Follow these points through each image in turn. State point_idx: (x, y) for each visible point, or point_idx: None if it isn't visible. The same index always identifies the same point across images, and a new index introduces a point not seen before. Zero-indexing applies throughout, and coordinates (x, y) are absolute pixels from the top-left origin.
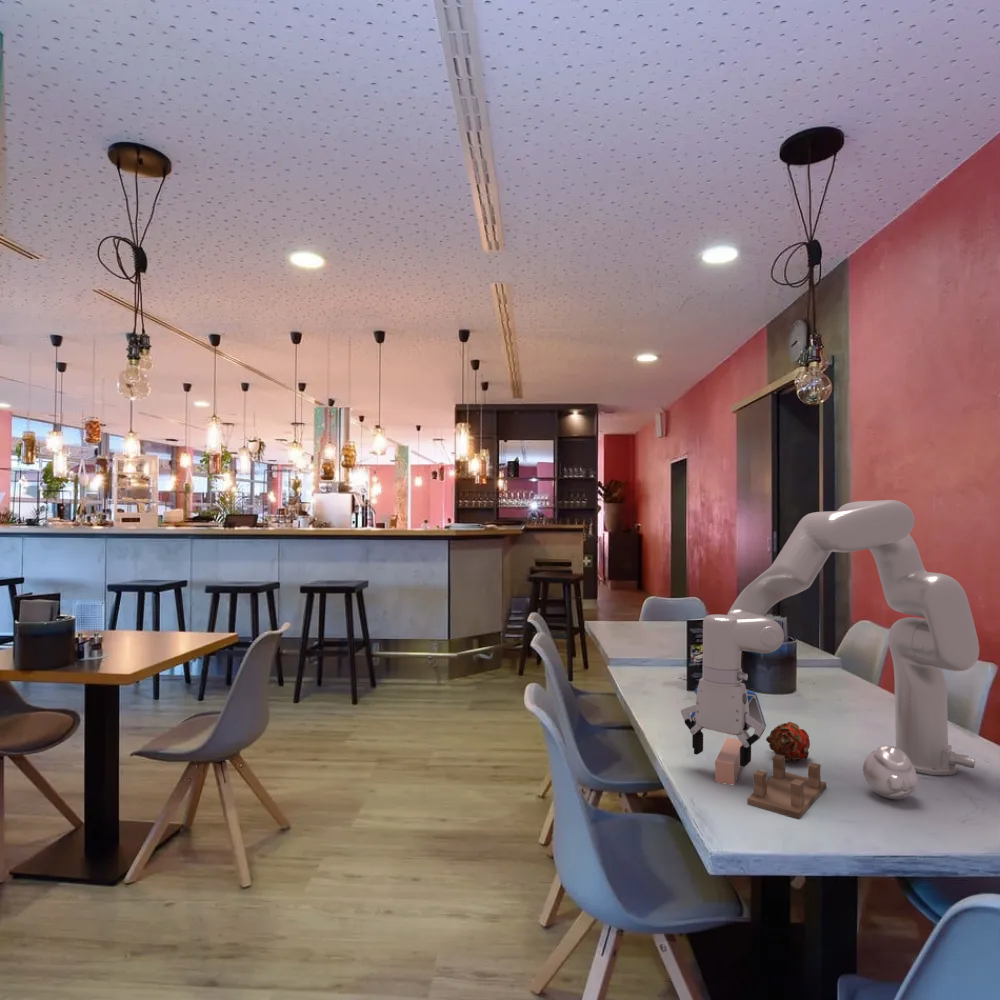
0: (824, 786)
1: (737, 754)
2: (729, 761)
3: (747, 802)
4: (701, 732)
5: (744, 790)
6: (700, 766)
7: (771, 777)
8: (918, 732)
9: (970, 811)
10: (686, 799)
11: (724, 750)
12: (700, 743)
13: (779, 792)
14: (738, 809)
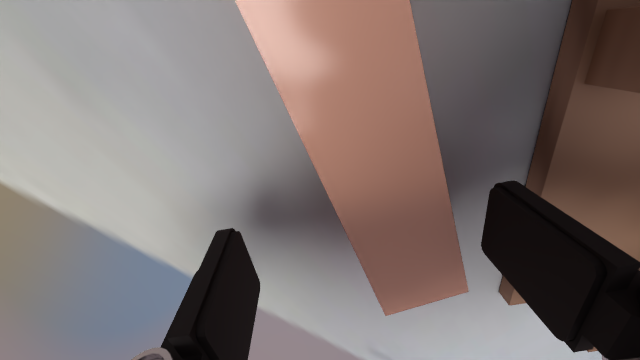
0: None
1: (442, 171)
2: (440, 281)
3: (501, 294)
4: (189, 342)
5: (468, 230)
6: (232, 169)
7: (576, 89)
8: None
9: None
10: (365, 357)
11: (344, 173)
12: (238, 300)
13: (608, 209)
14: (485, 322)
